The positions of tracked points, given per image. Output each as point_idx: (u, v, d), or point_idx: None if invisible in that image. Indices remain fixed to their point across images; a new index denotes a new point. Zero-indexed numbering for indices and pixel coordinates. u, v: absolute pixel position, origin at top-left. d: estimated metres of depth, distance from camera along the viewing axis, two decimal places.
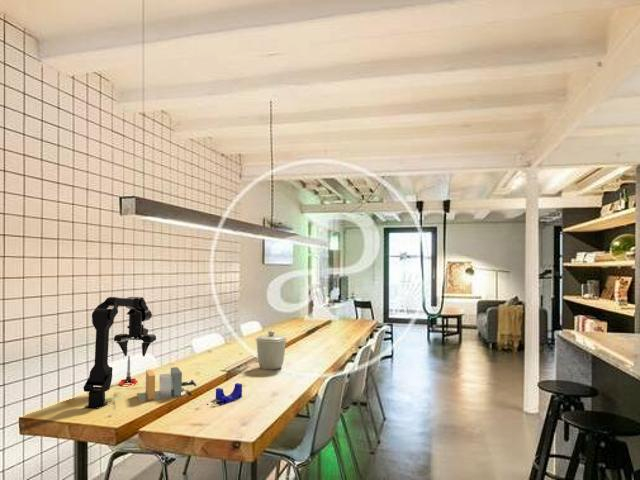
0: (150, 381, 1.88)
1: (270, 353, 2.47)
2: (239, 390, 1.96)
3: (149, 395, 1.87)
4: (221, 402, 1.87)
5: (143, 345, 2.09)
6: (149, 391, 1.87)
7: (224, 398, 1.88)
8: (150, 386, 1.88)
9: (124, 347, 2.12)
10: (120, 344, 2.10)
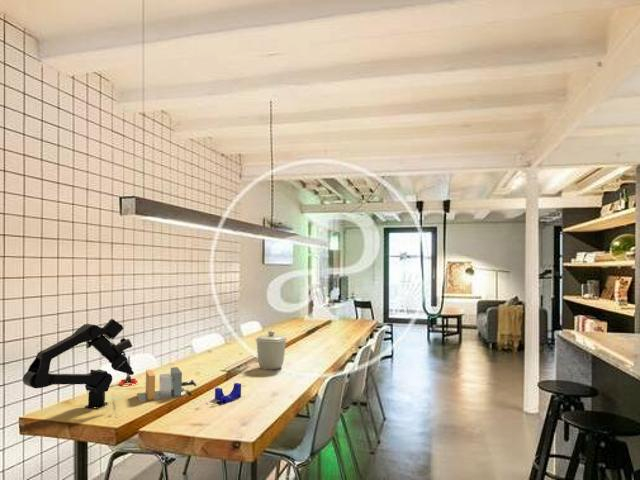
0: (150, 381, 1.88)
1: (270, 353, 2.47)
2: (238, 390, 1.96)
3: (149, 395, 1.87)
4: (220, 402, 1.88)
5: (118, 370, 1.83)
6: (149, 391, 1.87)
7: (223, 398, 1.88)
8: (150, 386, 1.88)
9: None
10: None
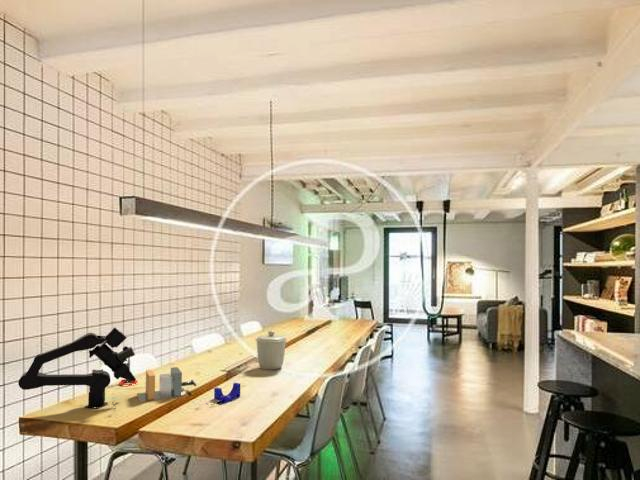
0: (150, 381, 1.88)
1: (270, 353, 2.47)
2: (237, 389, 1.97)
3: (149, 395, 1.87)
4: (220, 401, 1.88)
5: None
6: (149, 391, 1.87)
7: (223, 397, 1.88)
8: (150, 386, 1.88)
9: None
10: None
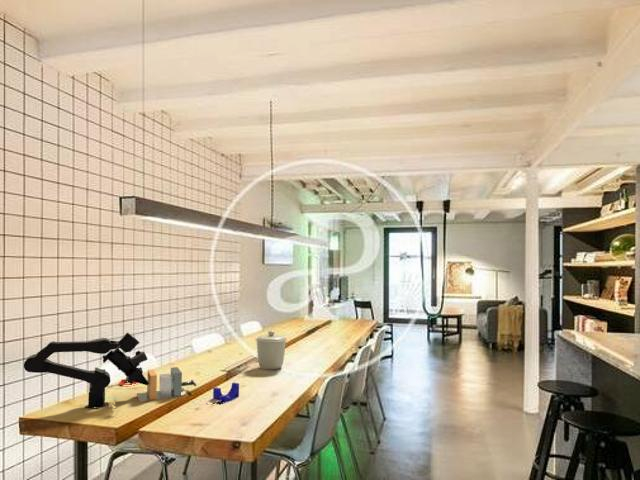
0: (152, 381, 1.88)
1: (270, 353, 2.47)
2: (236, 389, 1.97)
3: (151, 395, 1.88)
4: (219, 401, 1.88)
5: None
6: (151, 391, 1.88)
7: (222, 397, 1.89)
8: (152, 386, 1.88)
9: None
10: None
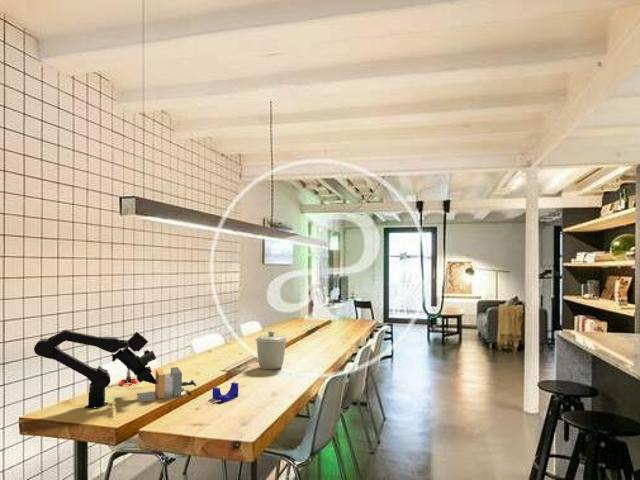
0: (160, 380, 1.90)
1: (270, 353, 2.47)
2: (235, 389, 1.97)
3: (159, 394, 1.89)
4: (218, 401, 1.88)
5: None
6: (159, 390, 1.89)
7: (221, 397, 1.89)
8: (160, 385, 1.89)
9: None
10: None
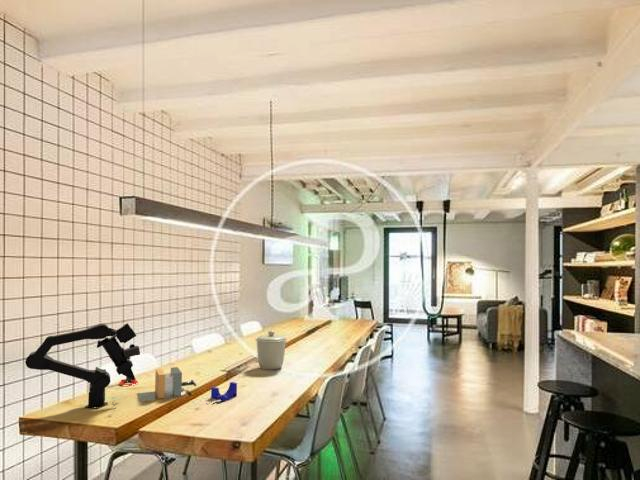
0: (160, 380, 1.90)
1: (270, 353, 2.47)
2: (234, 389, 1.98)
3: (159, 394, 1.89)
4: (217, 401, 1.89)
5: (121, 373, 1.87)
6: (159, 390, 1.89)
7: (220, 397, 1.89)
8: (160, 385, 1.89)
9: None
10: None
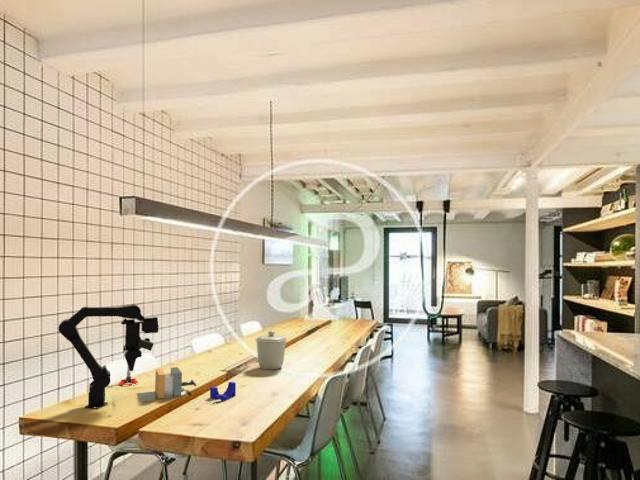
0: (160, 380, 1.90)
1: (270, 353, 2.47)
2: (233, 389, 1.98)
3: (159, 394, 1.89)
4: None
5: (125, 358, 1.88)
6: (159, 390, 1.89)
7: (219, 397, 1.90)
8: (160, 385, 1.89)
9: None
10: None
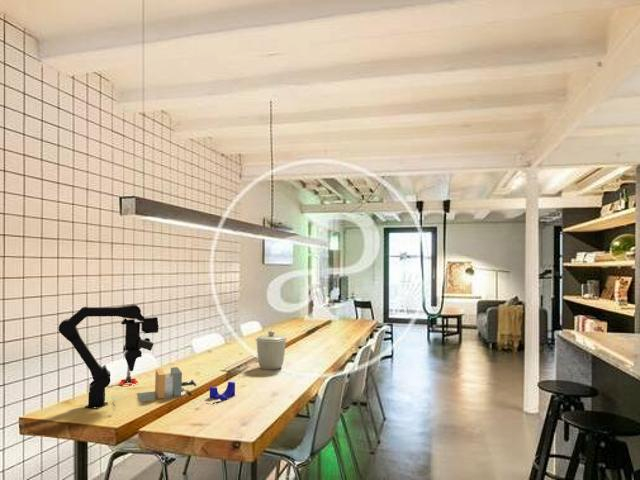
0: (160, 380, 1.90)
1: (270, 353, 2.47)
2: (232, 388, 1.98)
3: (159, 394, 1.89)
4: None
5: (125, 358, 1.88)
6: (159, 390, 1.89)
7: (218, 396, 1.90)
8: (160, 385, 1.89)
9: None
10: None
